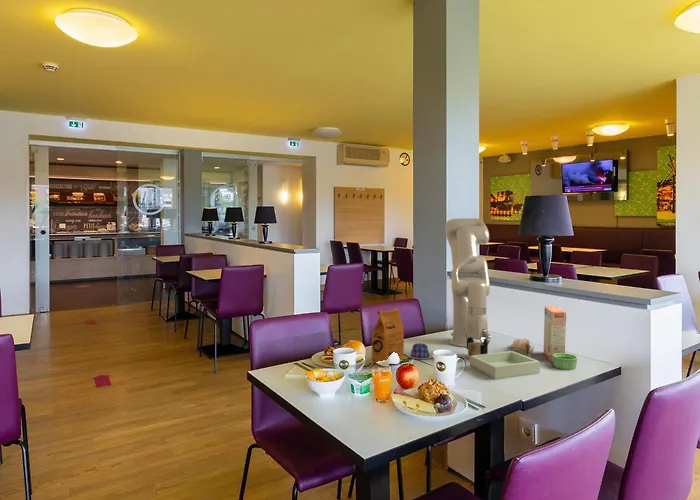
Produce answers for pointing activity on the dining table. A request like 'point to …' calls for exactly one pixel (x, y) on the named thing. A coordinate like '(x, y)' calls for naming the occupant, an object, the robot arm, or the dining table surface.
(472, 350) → the walnut block
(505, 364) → the bin
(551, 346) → the cracker box
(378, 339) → the coffee package
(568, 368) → the ramekin
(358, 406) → the dining table surface
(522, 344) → the packaged product
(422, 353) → the purple plaid hat
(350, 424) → the dining table surface
